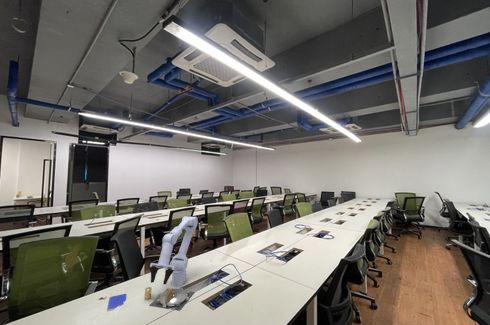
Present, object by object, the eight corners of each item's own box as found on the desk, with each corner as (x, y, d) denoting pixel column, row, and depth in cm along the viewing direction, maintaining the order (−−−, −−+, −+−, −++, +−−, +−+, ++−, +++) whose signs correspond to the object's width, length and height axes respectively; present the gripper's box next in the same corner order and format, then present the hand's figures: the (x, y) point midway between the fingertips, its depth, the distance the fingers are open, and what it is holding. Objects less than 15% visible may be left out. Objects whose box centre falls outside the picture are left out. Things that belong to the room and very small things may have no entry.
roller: (147, 298, 114) (147, 286, 114) (152, 298, 113) (152, 287, 114) (143, 301, 110) (143, 289, 111) (148, 302, 110) (149, 290, 110)
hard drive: (126, 305, 105) (126, 293, 116) (107, 309, 101) (109, 296, 112) (125, 308, 105) (126, 296, 116) (106, 312, 101) (109, 299, 112)
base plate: (167, 289, 122) (168, 288, 123) (195, 293, 119) (195, 292, 119) (148, 307, 105) (148, 305, 105) (179, 312, 101) (180, 310, 101)
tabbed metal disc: (168, 287, 122) (168, 278, 123) (194, 291, 119) (195, 282, 119) (149, 304, 105) (149, 294, 106) (179, 309, 102) (180, 299, 102)
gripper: (150, 254, 113) (142, 281, 107) (173, 256, 110) (166, 285, 104) (157, 255, 119) (149, 281, 113) (179, 257, 116) (173, 284, 110)
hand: (158, 283), depth 109 cm, fingers open, 7 cm apart
